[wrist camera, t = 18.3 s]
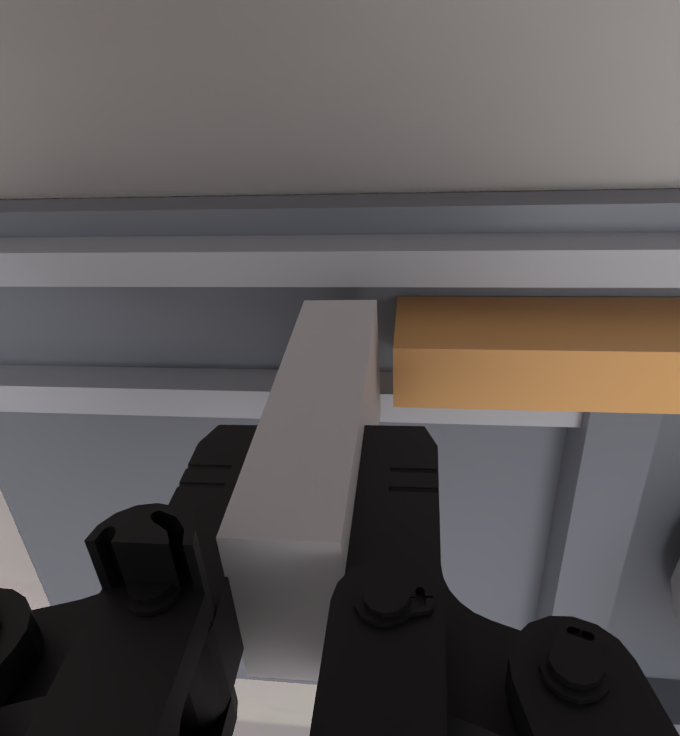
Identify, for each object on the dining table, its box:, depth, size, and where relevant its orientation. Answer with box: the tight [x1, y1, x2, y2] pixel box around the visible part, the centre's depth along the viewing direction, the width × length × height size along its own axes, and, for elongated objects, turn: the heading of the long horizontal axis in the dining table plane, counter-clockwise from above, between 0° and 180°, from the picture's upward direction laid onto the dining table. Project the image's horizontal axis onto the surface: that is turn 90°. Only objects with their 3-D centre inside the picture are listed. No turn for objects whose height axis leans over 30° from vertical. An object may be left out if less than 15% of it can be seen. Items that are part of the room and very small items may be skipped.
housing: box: [0, 189, 680, 735], centre depth 17 cm, size 30×17×2 cm, turn 93°
